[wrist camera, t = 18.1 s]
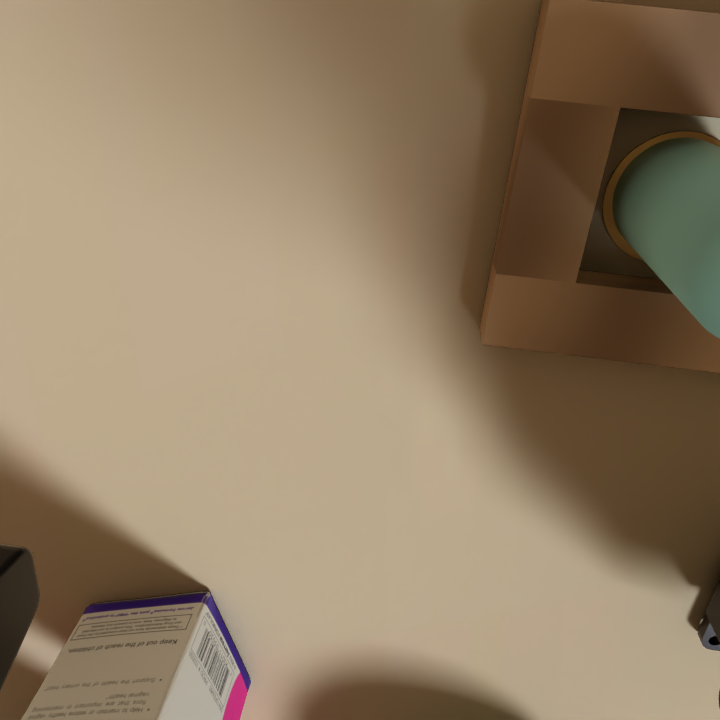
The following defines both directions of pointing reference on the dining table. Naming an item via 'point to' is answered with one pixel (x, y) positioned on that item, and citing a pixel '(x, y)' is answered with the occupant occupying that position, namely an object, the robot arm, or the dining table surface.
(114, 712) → the supplement box
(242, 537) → the dining table surface
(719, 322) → the peg
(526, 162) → the brown square frame
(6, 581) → the robot arm
